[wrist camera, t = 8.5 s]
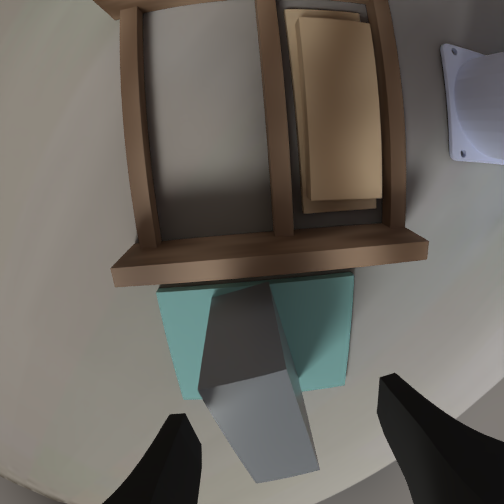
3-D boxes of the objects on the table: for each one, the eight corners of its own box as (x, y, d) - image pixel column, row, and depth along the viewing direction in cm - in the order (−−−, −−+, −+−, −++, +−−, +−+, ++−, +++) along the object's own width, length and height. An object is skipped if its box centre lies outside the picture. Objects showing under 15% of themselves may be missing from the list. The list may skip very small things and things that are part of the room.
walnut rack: (377, -6, 14) (404, -31, 10) (395, 237, 19) (426, 259, 15) (115, 7, 13) (90, -18, 10) (137, 259, 19) (115, 287, 15)
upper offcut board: (362, 30, 14) (369, 23, 13) (373, 194, 17) (381, 198, 16) (294, 24, 14) (298, 17, 13) (306, 197, 17) (311, 200, 16)
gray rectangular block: (268, 281, 19) (286, 369, 11) (298, 378, 21) (319, 469, 14) (211, 297, 19) (197, 390, 11) (251, 390, 22) (256, 483, 14)
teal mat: (351, 271, 19) (354, 275, 19) (342, 380, 22) (344, 385, 22) (158, 288, 19) (156, 292, 19) (184, 394, 22) (183, 399, 22)
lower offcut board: (352, 19, 15) (358, 13, 14) (368, 204, 19) (376, 208, 18) (281, 16, 15) (284, 9, 14) (299, 209, 19) (303, 213, 18)
